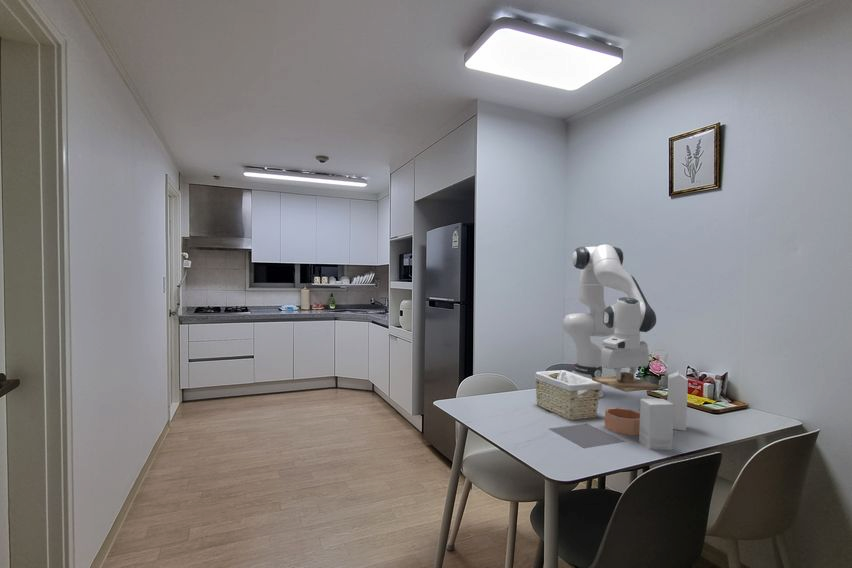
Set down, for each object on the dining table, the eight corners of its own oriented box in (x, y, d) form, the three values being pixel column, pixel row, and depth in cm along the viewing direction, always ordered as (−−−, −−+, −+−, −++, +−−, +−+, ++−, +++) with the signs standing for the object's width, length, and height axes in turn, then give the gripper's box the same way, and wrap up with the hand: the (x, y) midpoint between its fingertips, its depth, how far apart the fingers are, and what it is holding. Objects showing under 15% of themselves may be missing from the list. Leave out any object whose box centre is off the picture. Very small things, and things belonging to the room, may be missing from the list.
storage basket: (532, 404, 183) (533, 370, 183) (562, 401, 188) (563, 369, 188) (568, 422, 160) (569, 384, 160) (601, 419, 166) (603, 382, 166)
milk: (667, 428, 157) (669, 370, 157) (666, 423, 163) (668, 367, 162) (686, 431, 155) (688, 372, 154) (684, 426, 160) (686, 368, 160)
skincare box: (661, 443, 142) (663, 398, 142) (673, 451, 135) (675, 404, 135) (637, 443, 142) (639, 397, 141) (648, 451, 135) (650, 403, 135)
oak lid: (592, 380, 159) (592, 369, 158) (623, 377, 164) (624, 367, 164) (626, 391, 144) (626, 380, 144) (659, 388, 150) (660, 377, 149)
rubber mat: (548, 430, 151) (548, 428, 151) (586, 425, 158) (587, 423, 158) (583, 450, 135) (583, 448, 135) (625, 443, 141) (625, 441, 141)
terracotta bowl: (596, 425, 158) (597, 409, 158) (622, 421, 163) (623, 406, 163) (625, 438, 146) (625, 421, 146) (652, 434, 151) (652, 417, 151)
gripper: (640, 339, 160) (638, 375, 161) (598, 341, 153) (597, 378, 153) (654, 342, 155) (652, 379, 155) (612, 344, 147) (610, 383, 147)
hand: (625, 379), depth 154 cm, fingers closed on oak lid, 4 cm apart
